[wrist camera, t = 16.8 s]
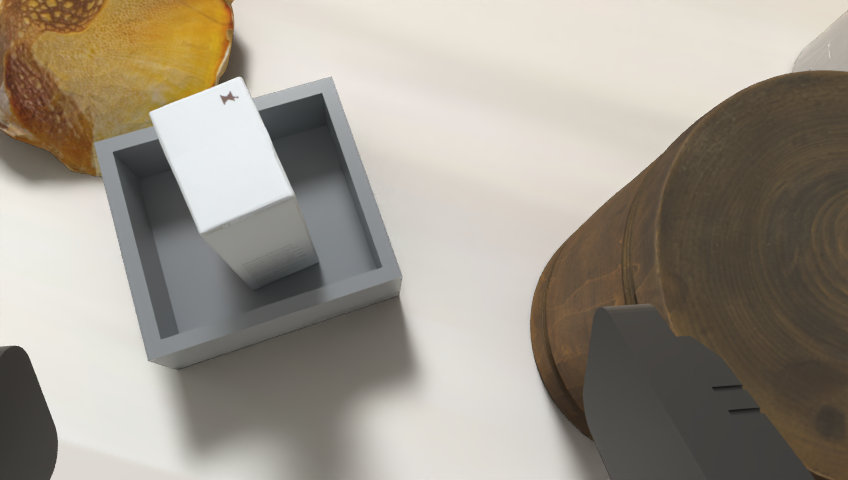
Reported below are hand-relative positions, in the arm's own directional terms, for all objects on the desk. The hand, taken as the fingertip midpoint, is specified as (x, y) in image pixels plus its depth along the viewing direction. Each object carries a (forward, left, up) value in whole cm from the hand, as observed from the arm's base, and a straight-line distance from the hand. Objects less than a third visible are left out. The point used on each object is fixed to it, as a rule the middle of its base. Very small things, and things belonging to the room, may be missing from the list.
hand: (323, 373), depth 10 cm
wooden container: (-18, +1, -29) cm, 34 cm away
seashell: (+8, -26, -29) cm, 40 cm away
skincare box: (+2, -11, -28) cm, 30 cm away
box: (+2, -12, -29) cm, 31 cm away
